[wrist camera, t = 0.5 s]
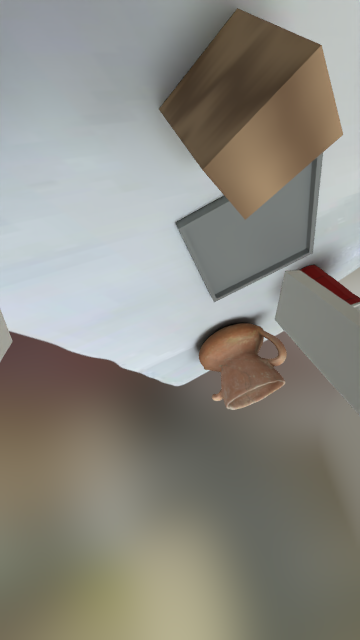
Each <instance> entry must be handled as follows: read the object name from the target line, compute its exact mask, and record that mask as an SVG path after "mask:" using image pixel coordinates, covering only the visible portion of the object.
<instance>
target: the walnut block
mask: <svg viewBox="0 0 360 640" xmlns="http://www.w3.org/2000/svg"><path fill="white" fill-rule="evenodd" d="M159 110H160V111H161V113H162V114H163V116H164V117H165V118H166V120H167V121H168V123H169V124H170V125H171V127H172V128H173V130H174V131H175V132H176V134H177V135H178V136H179V138H180V139H181V141H182V142H183V143H184V145H185V146H186V148H187V149H188V150H189V152H190V153H191V155H192V156H193V157H194V159H195V160H196V162H197V163H198V164H199V166H200V167H201V168H202V170H203V171H204V172H205V173H206V175H207V176H208V177H209V178H210V179H211V180H212V182H213V183H214V184H215V185H216V186H217V187H218V189H219V190H220V191H221V192H222V193H223V194H224V196H225V197H226V198H227V199H228V200H229V201H230V203H231V204H232V205H233V206H234V207H235V208H236V210H237V211H238V212H239V213H240V214H241V215H242V217H243V218H244V219H245V220H246V219H247V218H248V217H249V216H250V215H252V214H253V213H254V212H255V211H256V210H257V209H258V208H260V207H261V206H262V205H263V204H264V203H265V202H267V201H268V200H269V199H270V198H271V197H272V196H273V195H275V194H276V193H277V192H278V191H279V190H280V189H281V188H283V187H284V186H285V185H286V184H287V183H288V182H289V181H291V180H292V179H293V178H294V177H295V176H296V175H297V174H299V173H300V172H301V171H302V170H303V169H304V168H305V167H307V166H308V165H309V164H310V163H311V162H312V161H313V160H315V159H316V158H317V157H318V156H319V155H320V154H321V153H323V152H324V151H325V150H326V149H327V148H328V147H329V146H331V145H332V144H333V143H334V142H335V141H336V140H337V139H339V138H340V137H341V136H342V135H343V132H342V128H341V124H340V119H339V115H338V111H337V107H336V103H335V99H334V95H333V91H332V86H331V82H330V78H329V74H328V70H327V66H326V62H325V58H324V54H323V49H322V45H320V44H318V43H315V42H313V41H311V40H309V39H306V38H304V37H302V36H299V35H297V34H295V33H293V32H290V31H288V30H286V29H283V28H281V27H279V26H276V25H274V24H272V23H270V22H267V21H265V20H263V19H260V18H258V17H256V16H254V15H251V14H249V13H247V12H244V11H242V10H240V9H238V8H237V10H236V11H235V12H234V14H233V15H232V16H231V17H230V19H229V20H228V21H227V22H226V24H225V25H224V26H223V28H222V29H221V30H220V31H219V33H218V34H217V35H216V37H215V38H214V39H213V40H212V42H211V43H210V44H209V46H208V47H207V48H206V49H205V51H204V52H203V53H202V54H201V56H200V57H199V58H198V60H197V61H196V62H195V63H194V65H193V66H192V67H191V69H190V70H189V71H188V72H187V74H186V75H185V76H184V78H183V79H182V80H181V81H180V83H179V84H178V85H177V86H176V88H175V89H174V90H173V92H172V93H171V94H170V95H169V97H168V98H167V99H166V101H165V102H164V103H163V104H162V106H161V107H160V108H159Z"/></svg>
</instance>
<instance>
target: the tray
mask: <svg viewBox="0 0 360 640" xmlns="http://www.w3.org/2000/svg"><path fill="white" fill-rule="evenodd" d="M322 157H323V153H321V154H320V155H319V156H318V157H317V158H316V159H315V160H313V161H312V162H311V163H310V164H309V165H308V166H307V167H305V168H304V169H303V170H302V171H301V172H300V173H299V174H297V175H296V176H295V177H294V178H293V179H292V180H291V181H289V182H288V183H287V184H286V185H285V186H284V187H283V188H281V189H280V190H279V191H278V192H277V193H276V194H275V195H273V196H272V197H271V198H270V199H269V200H268V201H267V202H265V203H264V204H263V205H262V206H261V207H260V208H258V209H257V210H256V211H255V212H254V213H253V214H252V215H250V216H249V217H248V218H247V219H246V220H245V219H244V218H243V217H242V215H241V214H240V213H239V212H238V211H237V210H236V208H235V207H234V206H233V205H232V204H231V203H230V201H229V200H228V199H227V198H226V197H225V196H223V197H221V198H219V199H217V200H216V201H214V202H212V203H210V204H208V205H206V206H205V207H203V208H201V209H199V210H197V211H196V212H194V213H192V214H190V215H188V216H187V217H185V218H183V219H181V220H179V221H178V222H176V225H177V227H178V229H179V231H180V233H181V235H182V237H183V239H184V241H185V243H186V246H187V248H188V250H189V252H190V254H191V256H192V258H193V260H194V262H195V264H196V266H197V268H198V270H199V272H200V274H201V276H202V278H203V280H204V282H205V285H206V287H207V289H208V291H209V293H210V295H211V297H212V299H213V301H214V302H216V301H218V300H220V299H222V298H224V297H226V296H228V295H230V294H232V293H234V292H236V291H238V290H240V289H242V288H244V287H246V286H248V285H250V284H252V283H254V282H256V281H258V280H260V279H262V278H264V277H266V276H268V275H270V274H272V273H274V272H276V271H278V270H280V269H282V268H284V267H286V266H288V265H290V264H292V263H294V262H296V261H298V260H300V259H302V258H304V257H306V256H308V255H310V254H312V253H313V245H314V235H315V226H316V216H317V206H318V196H319V187H320V177H321V167H322Z"/></svg>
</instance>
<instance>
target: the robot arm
mask: <svg viewBox="0 0 360 640" xmlns="http://www.w3.org/2000/svg"><path fill="white" fill-rule="evenodd" d="M275 321H276V322H277V323H278V324H279V325H280V326H281V327H282V329H283V330H284V331H285V332H286V333H287V334H288V335H289V336H290V338H291V339H292V340H293V341H294V342H295V343H296V344H297V346H298V347H299V348H300V349H301V350H302V351H303V352H304V353H305V355H306V356H307V357H308V358H309V359H310V360H311V361H312V363H313V364H314V365H315V366H316V367H317V368H318V369H319V370H320V372H321V373H322V374H323V375H324V376H325V377H326V378H327V379H328V381H329V382H330V383H331V384H332V385H333V386H334V387H335V389H336V390H337V391H338V392H339V393H340V394H341V395H342V397H343V398H344V399H345V400H346V401H347V402H348V403H349V404H350V406H351V407H352V408H353V409H354V410H355V411H356V412H357V413H358V415H359V416H360V311H359V310H357V309H356V308H354V307H353V306H351V305H350V304H348V303H347V302H346V301H344V300H343V299H341V298H340V297H338V296H337V295H335V294H334V293H332V292H331V291H329V290H328V289H327V288H325V287H324V286H322V285H321V284H319V283H318V282H316V281H315V280H313V279H312V278H310V277H309V276H308V275H306V274H305V273H303V272H302V271H300V270H296V271H285V275H284V279H283V284H282V288H281V293H280V298H279V302H278V307H277V311H276V316H275ZM11 343H12V339H11V336H10V334H9V331H8V328H7V326H6V323H5V320H4V318H3V315H2V312H1V310H0V361H1V360H2V358H3V356H4V355H5V353H6V351H7V350H8V348H9V346H10V345H11Z"/></svg>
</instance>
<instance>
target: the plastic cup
mask: <svg viewBox="0 0 360 640" xmlns="http://www.w3.org/2000/svg"><path fill="white" fill-rule="evenodd" d="M300 271H302V272H303V273H305V274H306V275H308V276H309V277H310V278H312V279H313V280H315V281H316V282H318V283H319V284H321V285H322V286H324V287H325V288H327V289H328V290H329V291H331V292H332V293H334V294H335V295H337V296H338V297H340V298H341V299H343V300H344V301H346V302H347V303H348V304H350V305H351V306H353V307H354V308H356V309H357V310H359V311H360V298H359V297H358V296H356V295H355V294H353V293H352V292H350V291H349V290H348V289H347V288H345V287H344V286H343V285H341V284H340V283H339V282H338V281H336V280H335V279H334V278H333V277H331V276H329V275H328V274H327V273H325V272H324V271H323V270H322V269H320V268H319V267H317V266H315V265H310V266H307V267H304V268H302V269H301V270H300Z"/></svg>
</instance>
